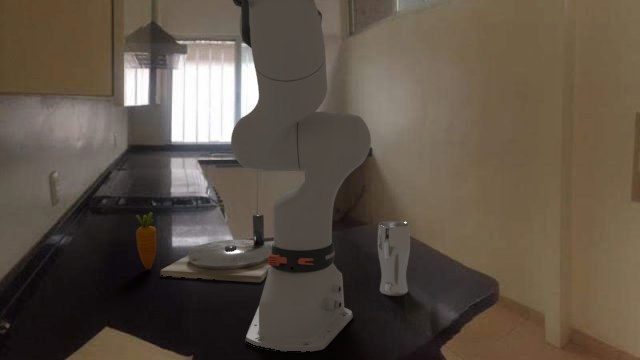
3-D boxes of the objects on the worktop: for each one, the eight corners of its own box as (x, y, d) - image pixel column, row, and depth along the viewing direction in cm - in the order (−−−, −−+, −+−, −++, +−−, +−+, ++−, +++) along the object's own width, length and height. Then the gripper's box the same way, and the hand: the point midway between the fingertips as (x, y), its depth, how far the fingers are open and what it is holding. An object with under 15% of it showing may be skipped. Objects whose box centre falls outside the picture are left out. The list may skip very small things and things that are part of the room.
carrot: (134, 272, 120) (130, 214, 118) (146, 266, 124) (143, 210, 123) (150, 273, 118) (146, 215, 116) (162, 267, 123) (159, 211, 121)
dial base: (260, 282, 110) (260, 275, 110) (160, 276, 116) (160, 269, 116) (291, 252, 135) (291, 246, 135) (208, 248, 141) (208, 243, 141)
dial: (288, 257, 124) (287, 220, 123) (214, 275, 110) (212, 233, 109) (244, 242, 141) (242, 209, 140) (174, 256, 126) (172, 220, 125)
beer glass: (409, 297, 99) (410, 228, 97) (376, 295, 100) (376, 227, 99) (410, 286, 106) (410, 221, 104) (378, 284, 107) (378, 220, 105)
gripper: (301, 60, 105) (302, 122, 107) (321, 70, 125) (322, 122, 127) (274, 61, 107) (276, 123, 108) (298, 71, 126) (299, 122, 128)
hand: (301, 122), depth 118 cm, fingers open, 8 cm apart
